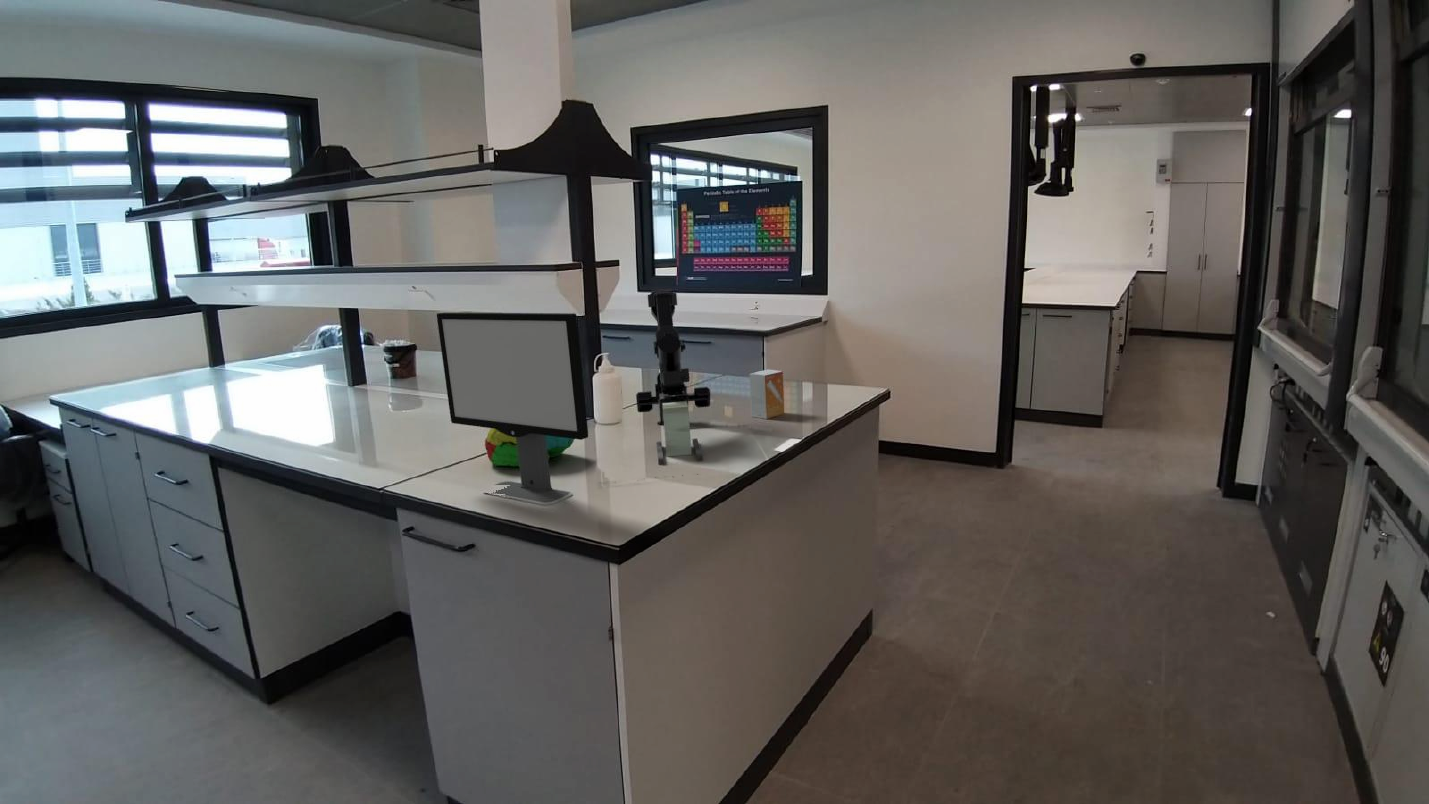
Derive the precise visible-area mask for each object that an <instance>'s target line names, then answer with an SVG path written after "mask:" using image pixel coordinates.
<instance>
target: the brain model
mask: <svg viewBox="0 0 1429 804" xmlns="http://www.w3.org/2000/svg"><path fill="white" fill-rule="evenodd" d="M545 436H546V445H547V454H548V461H549V460H550V458H555V457H557V456H560V455H561V454H562V453H564V452H565V451H566V450H567V449H569V448H570V447H571V446H572V445H573V443H574V441H575V439H571V438H563V437H555V436H548V435H545ZM484 447H485V450H486V452H487V458H488V460H489V461H490V463H492V464H493V465H494V466H504V467H508V466H510V467H519V459H518V450H517V442H516V437H511V436H508V435H505V434H503V433H501V432H500V431H498V430H497V429H493V428H489V430H488V432H487V435H486V437H485V440H484Z"/></svg>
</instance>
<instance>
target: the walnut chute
mask: <svg viewBox="0 0 1429 804" xmlns="http://www.w3.org/2000/svg"><path fill="white" fill-rule="evenodd" d="M691 439H692V440H691V441H692V445H693V449H694V453H695V456H696V461H697V462H703V460H704V459H703V453H702V450H701V447H700V443H699V441H698V440H699V439H698V437H696V438H691ZM662 446H663V445H662V441H656V449H657V450H656V452H657V460H658V466H661V465H664V454H663V447H662Z"/></svg>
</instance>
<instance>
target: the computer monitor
mask: <svg viewBox="0 0 1429 804" xmlns="http://www.w3.org/2000/svg"><path fill="white" fill-rule="evenodd" d="M436 321H437V329H438V335H439V341H440V342H439V343H440V349H441V356H442V357H441V359H442V364H443V371H444V380H445V387H446V394H447V401H448V409H449V415H450V421H451V424H454V425H463V426H471V427H479V428H487V429H491V428H493V429H497V430H498V431H500V432H501V433H503V434H505V435H508V436H511V437H516V442H517V450H518V459H519V466H518V467H519V474H520V481H516V480H505V481H504V480H503V481H500V482H496V483H493V485H510V486H507V488H505V487H504V489H501V490H498V491H497V490H496V492H495V493H494V492H493V493H491V494H505V495H501V496H505V497H509V498H513V499H512V500H514V499H516V500H515V501H519V500H521V501H520V502H525V503H529V502H531V503H530V504H534V503H535V505H538V506H539V505H540V506H550V505H551V506H552V505H554V504H556V503H559V502H561V501H563V500H566V499H568V498H570V497H572V496H573V492H572V491H569V490H566V489H565V490H564V489H558V488H554V487H552V482H551V474H550V473H551V472H550V465H549V460H548V454H547V445H546V436H545V435H548V436H555V437H563V438H571V439H574V440H581V441H582V440H585V439H587V438H589V428H588V419H587V418H588V417H587V411H586V409H587V408H586V407H587V406H586V400H585V399H586V398H585V389H584V388H585V387H584V376H583V367H582V358H581V347H580V346H581V345H580V337H579V327H578V318H577V314H576V313H572V312H571V313H570V312H569V313H568V312H567V313H565V312H564V313H563V312H562V313H561V312H560V313H559V312H558V313H557V312H556V313H555V312H545V313H544V312H539V313H538V312H447V311H446V312H445V311H443V312H438V313H436Z"/></svg>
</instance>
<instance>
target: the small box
mask: <svg viewBox="0 0 1429 804" xmlns="http://www.w3.org/2000/svg"><path fill="white" fill-rule="evenodd" d="M749 391H750V392H749V393H750V412H751V414H750V416H751V417H753V418H758V419H766V420H768V419H771V418H775V417H778V416H782V415H785V395H784V393H785V392H784V391H785V390H784V371H783V370H777V369H764V370H759V371H756V372H752V373H749Z"/></svg>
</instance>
